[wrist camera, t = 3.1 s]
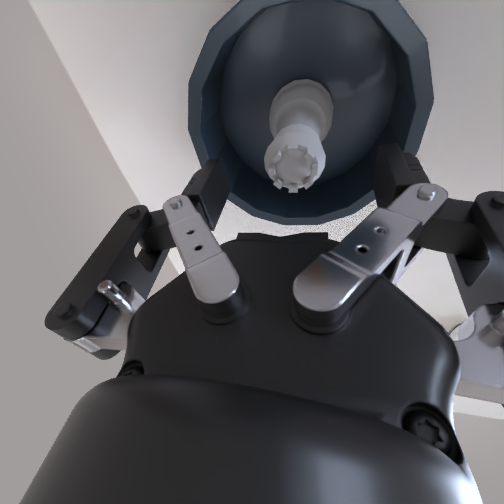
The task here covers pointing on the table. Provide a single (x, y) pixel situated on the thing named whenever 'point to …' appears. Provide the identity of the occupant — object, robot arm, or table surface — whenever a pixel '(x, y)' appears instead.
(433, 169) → the table surface
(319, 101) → the rook chess piece
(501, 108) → the table surface
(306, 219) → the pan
